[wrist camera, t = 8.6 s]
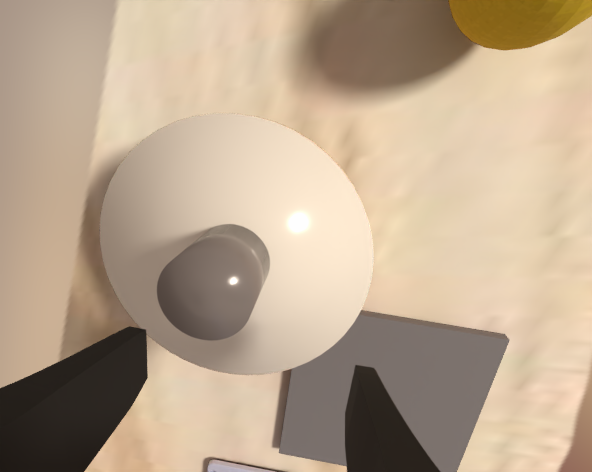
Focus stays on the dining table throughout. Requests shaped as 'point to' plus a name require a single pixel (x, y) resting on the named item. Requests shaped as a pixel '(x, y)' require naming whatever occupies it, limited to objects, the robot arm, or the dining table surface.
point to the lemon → (517, 20)
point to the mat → (396, 385)
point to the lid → (236, 243)
